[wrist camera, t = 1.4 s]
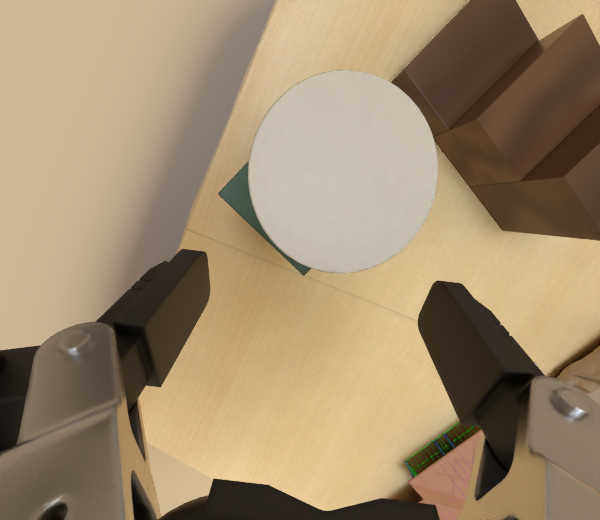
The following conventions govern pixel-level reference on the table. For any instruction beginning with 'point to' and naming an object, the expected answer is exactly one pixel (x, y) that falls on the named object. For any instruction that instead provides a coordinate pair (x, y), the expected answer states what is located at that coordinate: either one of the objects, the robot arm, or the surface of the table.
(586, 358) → the decorative stone
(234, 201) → the stand
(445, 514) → the house
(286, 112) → the amber bottle
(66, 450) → the robot arm
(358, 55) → the table surface
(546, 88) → the riser
